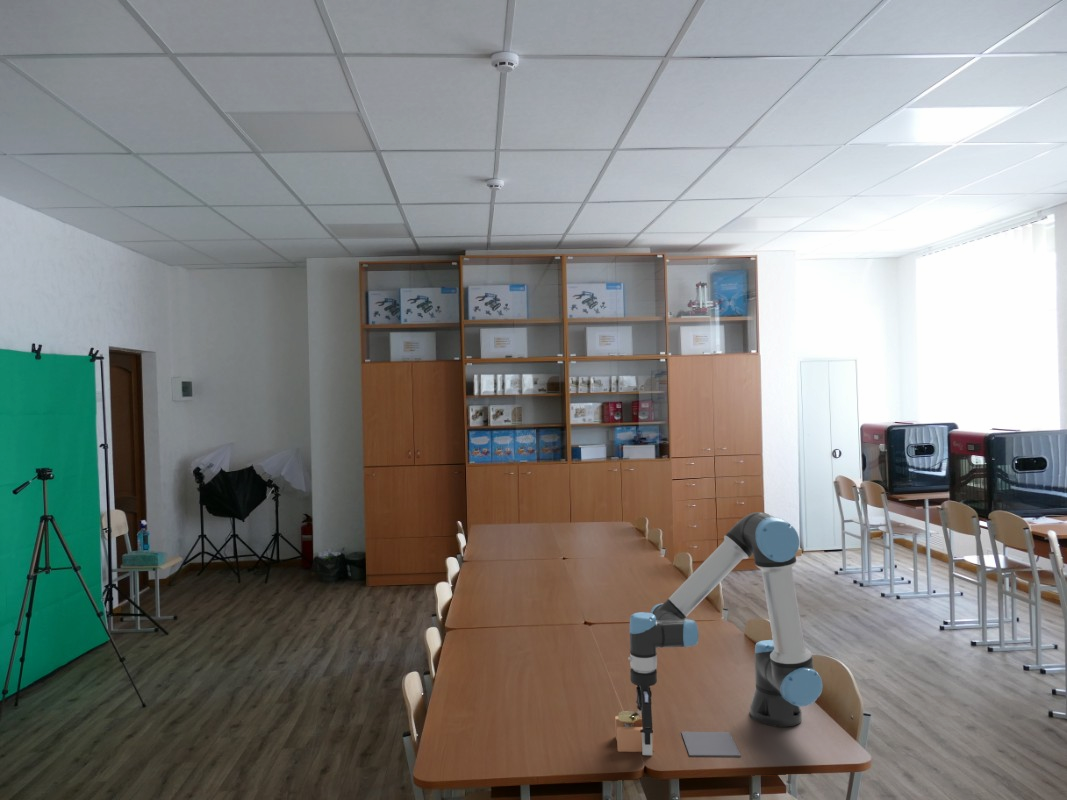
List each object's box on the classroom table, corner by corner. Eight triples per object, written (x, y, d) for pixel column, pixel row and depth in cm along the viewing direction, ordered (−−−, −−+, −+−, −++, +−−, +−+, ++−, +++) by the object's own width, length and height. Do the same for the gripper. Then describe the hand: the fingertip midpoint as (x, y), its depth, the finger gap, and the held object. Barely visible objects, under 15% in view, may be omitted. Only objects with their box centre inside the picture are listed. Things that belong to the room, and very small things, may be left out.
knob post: (638, 739, 207) (637, 710, 208) (640, 748, 201) (640, 719, 202) (617, 738, 208) (617, 710, 208) (619, 748, 202) (618, 719, 202)
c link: (649, 736, 209) (649, 716, 209) (653, 751, 200) (653, 730, 200) (615, 736, 209) (615, 716, 209) (617, 751, 200) (617, 730, 200)
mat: (729, 733, 210) (729, 731, 210) (740, 756, 196) (740, 755, 196) (681, 733, 211) (681, 731, 211) (689, 756, 197) (689, 754, 197)
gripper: (626, 653, 217) (627, 723, 217) (634, 685, 192) (635, 764, 192) (651, 653, 217) (652, 724, 217) (662, 685, 192) (663, 765, 192)
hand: (644, 743), depth 204 cm, fingers open, 13 cm apart
